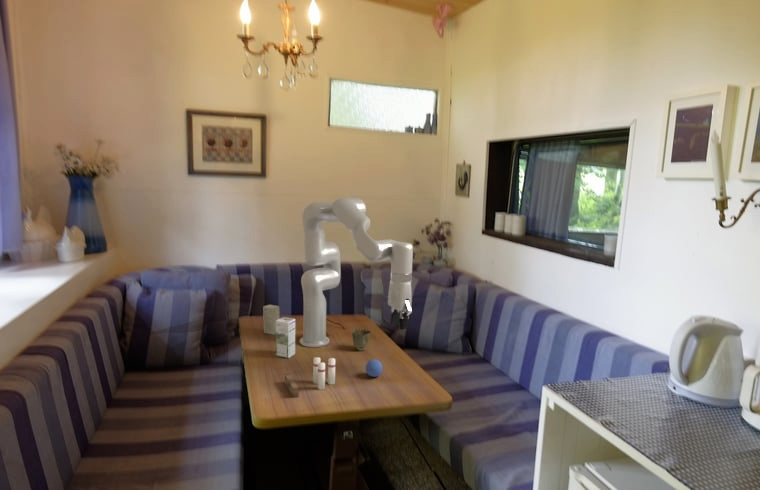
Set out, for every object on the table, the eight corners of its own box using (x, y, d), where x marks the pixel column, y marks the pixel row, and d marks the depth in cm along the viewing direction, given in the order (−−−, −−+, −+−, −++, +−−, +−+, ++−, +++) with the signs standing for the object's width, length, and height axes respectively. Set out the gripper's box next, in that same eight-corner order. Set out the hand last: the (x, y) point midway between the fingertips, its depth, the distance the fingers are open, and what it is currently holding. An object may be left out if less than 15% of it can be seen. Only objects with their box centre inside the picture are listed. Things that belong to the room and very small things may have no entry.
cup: (367, 353, 192) (368, 334, 191) (349, 352, 193) (350, 332, 192) (371, 347, 199) (372, 329, 198) (354, 345, 201) (354, 327, 200)
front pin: (326, 382, 164) (327, 358, 163) (333, 381, 165) (334, 357, 164) (329, 385, 162) (329, 361, 161) (336, 383, 163) (336, 360, 162)
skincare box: (280, 332, 215) (280, 306, 213) (273, 335, 211) (273, 308, 209) (270, 330, 218) (270, 304, 216) (262, 332, 214) (262, 306, 212)
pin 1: (311, 381, 165) (312, 357, 163) (318, 380, 166) (319, 356, 165) (314, 384, 162) (314, 360, 161) (321, 383, 163) (321, 359, 162)
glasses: (323, 324, 230) (323, 314, 229) (345, 329, 223) (346, 319, 223) (305, 331, 219) (306, 321, 218) (329, 337, 212) (329, 326, 211)
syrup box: (295, 353, 190) (296, 318, 188) (288, 358, 184) (288, 322, 182) (283, 351, 192) (283, 316, 190) (275, 356, 186) (275, 320, 184)
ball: (362, 374, 172) (363, 358, 171) (377, 371, 175) (378, 356, 174) (369, 380, 167) (370, 364, 166) (385, 378, 169) (385, 361, 168)
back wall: (284, 382, 163) (284, 374, 162) (288, 382, 163) (288, 373, 163) (293, 397, 152) (294, 388, 152) (298, 396, 153) (298, 387, 152)
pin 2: (316, 387, 160) (316, 362, 159) (323, 386, 161) (323, 361, 160) (318, 390, 158) (319, 365, 157) (326, 389, 159) (326, 364, 158)
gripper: (381, 273, 176) (379, 320, 178) (403, 282, 161) (401, 334, 163) (399, 272, 179) (397, 318, 182) (422, 281, 164) (420, 332, 166)
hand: (399, 325), depth 172 cm, fingers open, 5 cm apart
